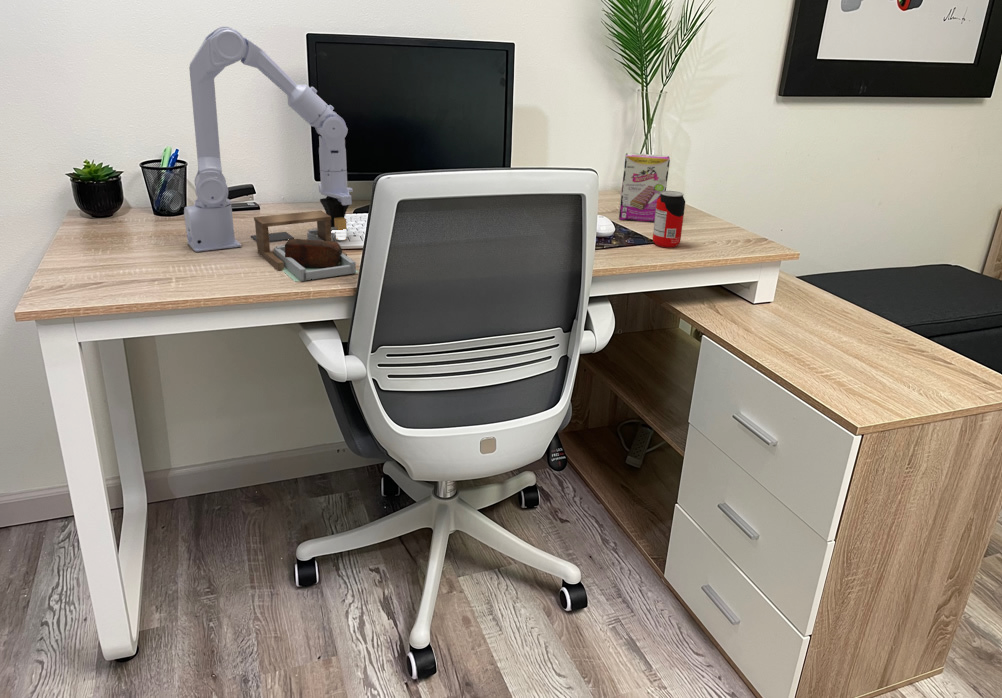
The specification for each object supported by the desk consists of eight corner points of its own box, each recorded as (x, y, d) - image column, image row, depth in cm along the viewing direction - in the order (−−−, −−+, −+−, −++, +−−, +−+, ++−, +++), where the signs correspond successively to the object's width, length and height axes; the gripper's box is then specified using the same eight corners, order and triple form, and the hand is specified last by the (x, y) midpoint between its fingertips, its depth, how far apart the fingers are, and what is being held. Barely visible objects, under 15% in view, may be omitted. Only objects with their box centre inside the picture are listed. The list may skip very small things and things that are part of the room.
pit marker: (258, 243, 170) (258, 242, 170) (250, 236, 174) (250, 235, 174) (294, 239, 174) (294, 238, 174) (285, 232, 178) (285, 231, 178)
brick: (285, 266, 154) (284, 243, 152) (289, 260, 157) (288, 238, 156) (339, 268, 154) (338, 245, 152) (342, 263, 158) (342, 240, 156)
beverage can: (682, 248, 177) (689, 196, 172) (655, 248, 177) (661, 195, 172) (675, 241, 183) (682, 190, 178) (649, 240, 183) (654, 189, 178)
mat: (295, 282, 147) (295, 281, 147) (278, 268, 155) (278, 267, 155) (359, 273, 154) (359, 272, 154) (340, 259, 161) (340, 258, 161)
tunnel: (278, 270, 153) (274, 233, 150) (257, 252, 164) (253, 217, 161) (347, 261, 160) (345, 225, 157) (322, 244, 171) (320, 210, 168)
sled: (301, 280, 147) (299, 256, 145) (261, 247, 166) (259, 226, 164) (391, 267, 156) (390, 245, 154) (343, 237, 176) (342, 217, 174)
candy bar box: (618, 220, 200) (624, 155, 193) (618, 216, 204) (624, 152, 198) (662, 223, 199) (670, 158, 192) (662, 218, 203) (669, 154, 197)
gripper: (363, 174, 167) (366, 236, 172) (338, 162, 178) (341, 221, 183) (332, 176, 163) (335, 239, 169) (308, 164, 174) (312, 224, 180)
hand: (336, 230), depth 176 cm, fingers closed
